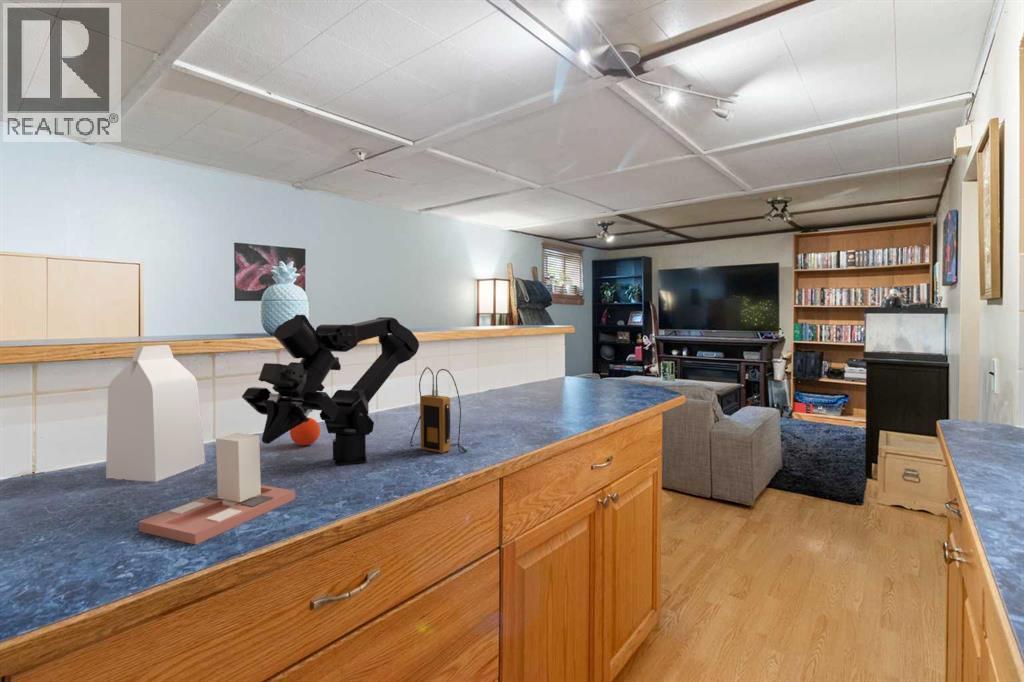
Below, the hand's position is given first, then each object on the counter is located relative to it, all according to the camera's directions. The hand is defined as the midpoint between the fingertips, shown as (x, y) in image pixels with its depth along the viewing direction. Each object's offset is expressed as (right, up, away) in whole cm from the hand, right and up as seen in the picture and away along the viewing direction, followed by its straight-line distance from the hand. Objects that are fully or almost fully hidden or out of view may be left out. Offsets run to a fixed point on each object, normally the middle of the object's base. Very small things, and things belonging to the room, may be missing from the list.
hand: (264, 442), depth 85 cm
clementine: (-8, -8, +34) cm, 36 cm away
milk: (-30, -9, +15) cm, 34 cm away
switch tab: (-2, -10, -4) cm, 11 cm away
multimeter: (+27, -8, +33) cm, 44 cm away
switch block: (-3, -10, -7) cm, 13 cm away
